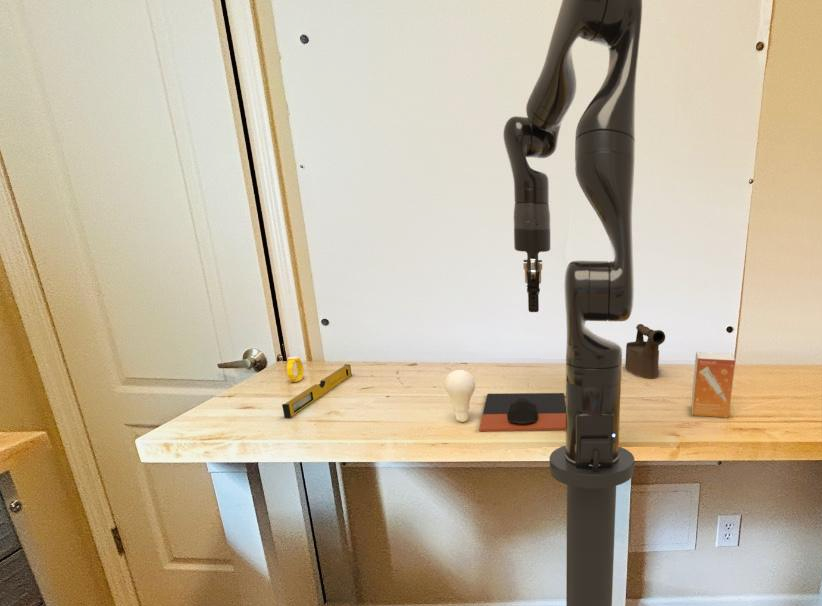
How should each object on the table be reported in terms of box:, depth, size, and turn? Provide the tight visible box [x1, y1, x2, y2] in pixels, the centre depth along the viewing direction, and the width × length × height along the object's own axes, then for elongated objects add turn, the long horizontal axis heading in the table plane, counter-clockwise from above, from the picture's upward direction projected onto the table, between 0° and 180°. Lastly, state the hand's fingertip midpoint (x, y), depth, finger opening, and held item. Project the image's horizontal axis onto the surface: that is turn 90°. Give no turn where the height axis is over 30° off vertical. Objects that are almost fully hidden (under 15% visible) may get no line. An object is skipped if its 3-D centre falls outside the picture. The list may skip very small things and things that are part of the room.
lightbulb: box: [443, 369, 476, 423], centre depth 124 cm, size 6×6×11 cm
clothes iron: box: [624, 323, 666, 379], centre depth 163 cm, size 8×16×13 cm, turn 13°
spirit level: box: [281, 363, 353, 419], centre depth 140 cm, size 33×1×3 cm, turn 0°
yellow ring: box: [286, 355, 304, 383], centre depth 150 cm, size 6×3×6 cm, turn 2°
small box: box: [690, 351, 736, 419], centre depth 133 cm, size 8×6×13 cm
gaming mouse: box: [507, 397, 538, 424], centre depth 128 cm, size 6×15×4 cm, turn 5°
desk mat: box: [478, 392, 566, 432], centre depth 133 cm, size 24×18×1 cm
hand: (533, 311), depth 132 cm, fingers closed
